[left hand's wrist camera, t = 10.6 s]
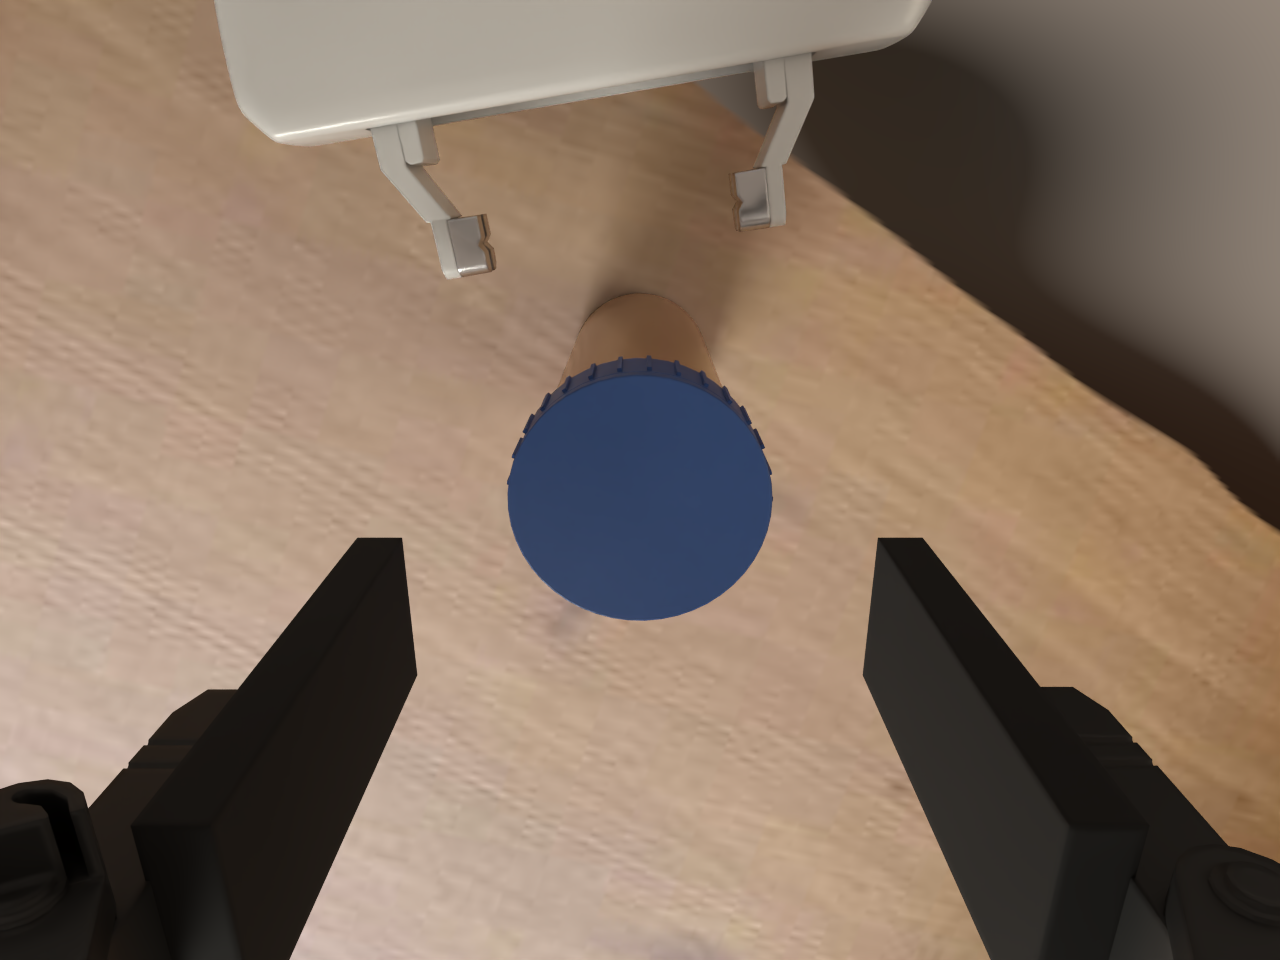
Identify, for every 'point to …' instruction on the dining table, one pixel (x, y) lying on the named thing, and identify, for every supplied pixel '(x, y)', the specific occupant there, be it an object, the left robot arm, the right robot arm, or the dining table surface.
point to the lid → (640, 490)
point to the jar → (640, 335)
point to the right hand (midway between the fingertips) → (614, 251)
